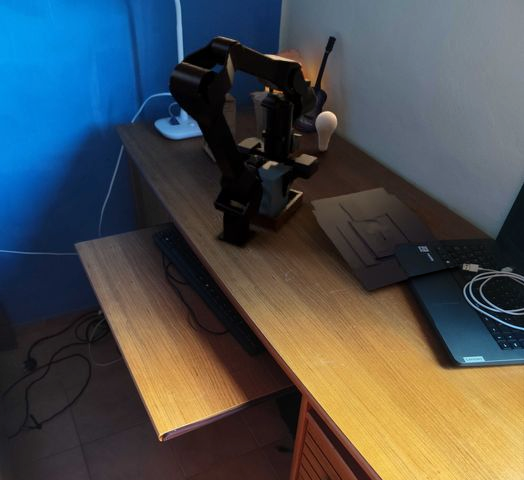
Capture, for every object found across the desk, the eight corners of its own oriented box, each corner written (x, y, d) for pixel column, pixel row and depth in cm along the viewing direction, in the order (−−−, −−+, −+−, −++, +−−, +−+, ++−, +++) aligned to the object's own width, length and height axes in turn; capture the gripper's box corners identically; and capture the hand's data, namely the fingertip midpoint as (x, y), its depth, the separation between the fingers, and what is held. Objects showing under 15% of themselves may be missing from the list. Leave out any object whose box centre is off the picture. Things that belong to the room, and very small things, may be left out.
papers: (385, 195, 119) (389, 183, 116) (456, 275, 103) (463, 262, 100) (300, 212, 111) (303, 199, 108) (363, 300, 96) (368, 288, 93)
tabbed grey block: (288, 205, 114) (293, 165, 106) (265, 224, 107) (269, 184, 100) (269, 197, 116) (272, 158, 108) (245, 216, 109) (247, 176, 102)
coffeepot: (240, 152, 135) (240, 84, 121) (256, 141, 140) (258, 74, 127) (286, 166, 130) (293, 97, 117) (301, 154, 136) (309, 87, 122)
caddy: (275, 231, 108) (276, 219, 106) (241, 219, 110) (241, 208, 108) (302, 203, 117) (303, 192, 115) (269, 193, 119) (270, 182, 117)
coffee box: (203, 149, 135) (200, 88, 123) (224, 146, 137) (223, 86, 125) (214, 163, 129) (212, 101, 118) (236, 159, 131) (236, 98, 120)
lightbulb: (310, 153, 136) (314, 114, 128) (314, 145, 140) (319, 106, 132) (330, 157, 135) (336, 117, 127) (334, 148, 139) (340, 110, 131)
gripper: (333, 123, 101) (323, 190, 112) (258, 104, 106) (255, 169, 118) (312, 141, 94) (303, 210, 105) (233, 120, 99) (233, 188, 111)
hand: (273, 193), depth 110 cm, fingers closed on tabbed grey block, 6 cm apart
